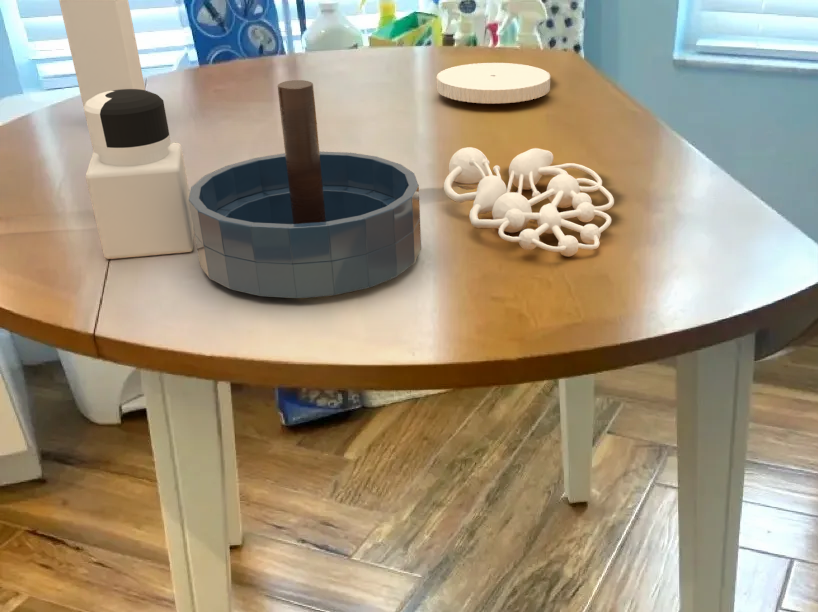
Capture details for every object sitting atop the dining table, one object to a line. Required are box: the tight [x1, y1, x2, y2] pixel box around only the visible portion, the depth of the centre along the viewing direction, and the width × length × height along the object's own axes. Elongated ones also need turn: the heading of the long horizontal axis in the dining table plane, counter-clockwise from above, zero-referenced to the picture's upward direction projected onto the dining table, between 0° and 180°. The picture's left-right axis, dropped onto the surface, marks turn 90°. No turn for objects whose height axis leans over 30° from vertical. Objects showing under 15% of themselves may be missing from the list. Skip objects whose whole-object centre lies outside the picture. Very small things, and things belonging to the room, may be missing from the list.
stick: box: [276, 79, 326, 224], centre depth 74 cm, size 4×4×13 cm
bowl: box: [189, 150, 422, 299], centre depth 76 cm, size 18×18×6 cm
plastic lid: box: [436, 62, 551, 105], centre depth 119 cm, size 14×14×2 cm
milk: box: [58, 0, 146, 108], centre depth 107 cm, size 6×6×22 cm
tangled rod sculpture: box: [443, 146, 615, 258], centre depth 84 cm, size 19×14×4 cm
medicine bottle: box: [83, 89, 195, 260], centre depth 78 cm, size 7×7×12 cm
